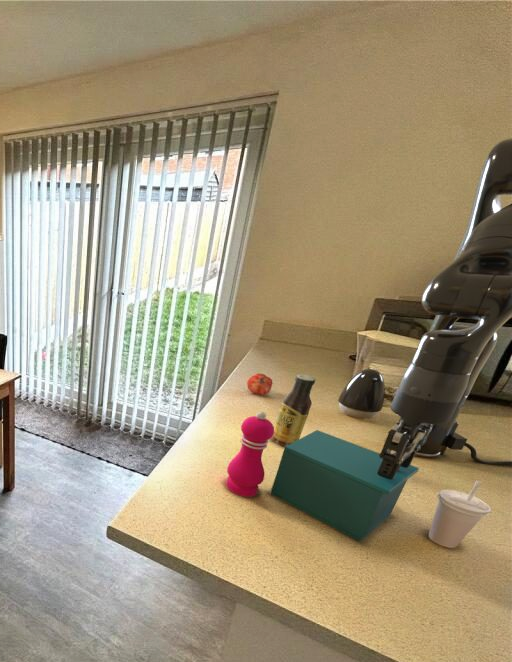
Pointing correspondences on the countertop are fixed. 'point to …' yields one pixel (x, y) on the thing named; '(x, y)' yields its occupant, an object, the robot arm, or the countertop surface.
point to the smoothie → (456, 516)
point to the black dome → (363, 395)
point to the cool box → (332, 496)
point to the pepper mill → (250, 456)
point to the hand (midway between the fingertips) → (392, 470)
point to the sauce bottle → (293, 412)
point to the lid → (349, 460)
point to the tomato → (259, 384)
